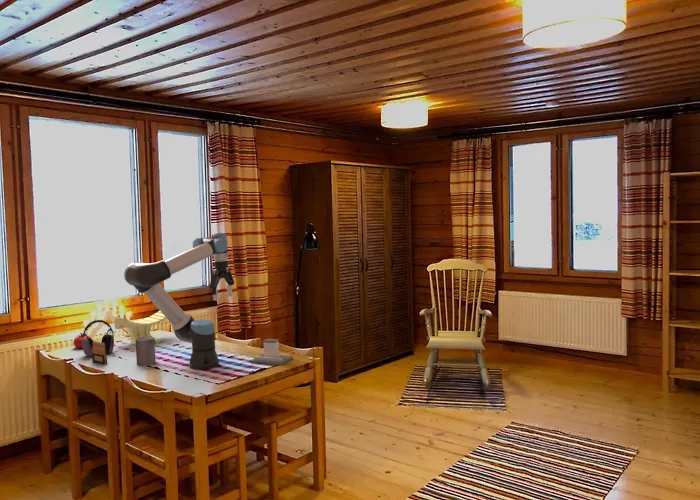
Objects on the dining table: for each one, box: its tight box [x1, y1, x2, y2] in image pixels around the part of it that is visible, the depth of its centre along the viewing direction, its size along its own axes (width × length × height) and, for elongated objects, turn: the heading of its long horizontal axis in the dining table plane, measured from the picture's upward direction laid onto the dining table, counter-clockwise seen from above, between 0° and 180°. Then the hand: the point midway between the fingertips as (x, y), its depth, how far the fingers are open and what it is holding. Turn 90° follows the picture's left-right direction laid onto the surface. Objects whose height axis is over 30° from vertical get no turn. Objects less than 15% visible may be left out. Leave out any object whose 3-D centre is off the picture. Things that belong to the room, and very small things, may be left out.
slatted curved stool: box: [114, 310, 168, 346], centre depth 362 cm, size 30×16×18 cm, turn 137°
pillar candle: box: [135, 335, 157, 366], centre depth 311 cm, size 10×10×15 cm
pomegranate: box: [72, 332, 92, 350], centre depth 353 cm, size 10×10×9 cm
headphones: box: [82, 319, 115, 358], centre depth 334 cm, size 9×17×20 cm, turn 136°
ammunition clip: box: [91, 340, 108, 365], centre depth 315 cm, size 11×2×12 cm, turn 57°
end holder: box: [250, 352, 294, 366], centre depth 310 cm, size 14×18×3 cm
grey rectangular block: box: [262, 338, 280, 358], centre depth 310 cm, size 4×7×10 cm, turn 70°
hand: (222, 298), depth 326 cm, fingers open, 13 cm apart
